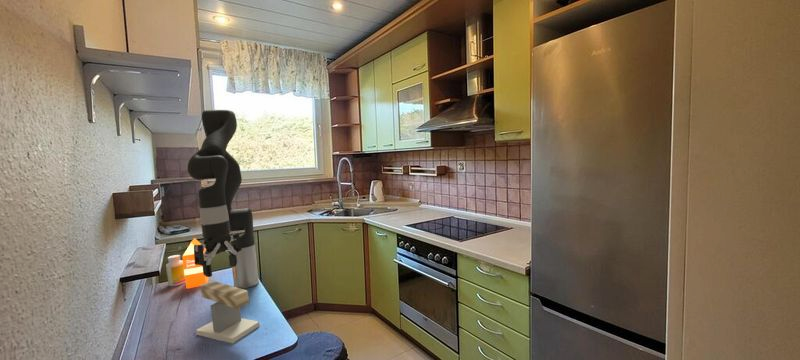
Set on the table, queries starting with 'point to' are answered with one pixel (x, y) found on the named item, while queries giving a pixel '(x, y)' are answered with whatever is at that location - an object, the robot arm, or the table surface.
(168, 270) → the supplement bottle
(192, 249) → the orange juice
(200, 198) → the robot arm
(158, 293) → the table surface
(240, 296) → the rectangular block
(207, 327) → the stand
